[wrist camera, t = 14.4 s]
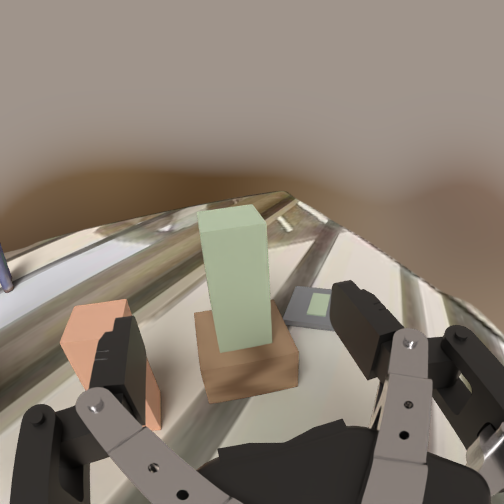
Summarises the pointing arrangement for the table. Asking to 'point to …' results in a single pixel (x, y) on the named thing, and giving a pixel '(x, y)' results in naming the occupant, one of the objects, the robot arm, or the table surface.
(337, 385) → the table surface
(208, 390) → the walnut base
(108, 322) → the terracotta pillar
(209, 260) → the sage pillar
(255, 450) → the robot arm
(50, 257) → the table surface
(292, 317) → the tile
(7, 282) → the flask
